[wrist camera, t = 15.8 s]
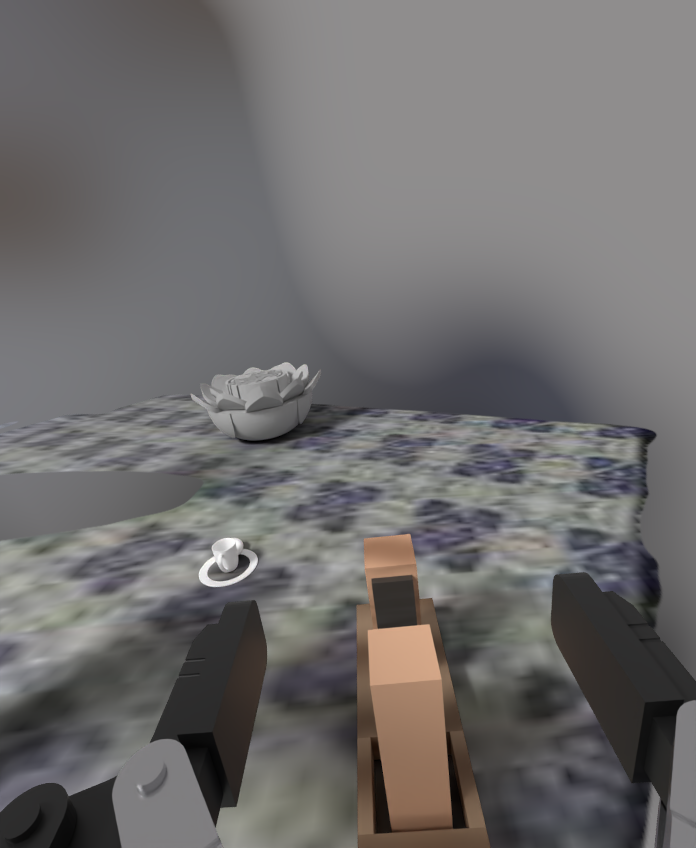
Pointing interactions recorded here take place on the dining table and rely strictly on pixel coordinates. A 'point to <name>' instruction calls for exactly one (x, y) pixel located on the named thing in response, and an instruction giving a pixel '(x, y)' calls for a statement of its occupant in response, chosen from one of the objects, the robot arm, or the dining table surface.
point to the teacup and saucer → (227, 561)
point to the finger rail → (388, 608)
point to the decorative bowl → (259, 401)
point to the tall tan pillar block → (410, 727)
